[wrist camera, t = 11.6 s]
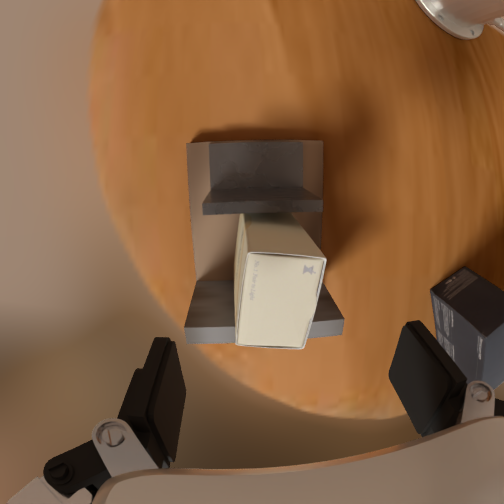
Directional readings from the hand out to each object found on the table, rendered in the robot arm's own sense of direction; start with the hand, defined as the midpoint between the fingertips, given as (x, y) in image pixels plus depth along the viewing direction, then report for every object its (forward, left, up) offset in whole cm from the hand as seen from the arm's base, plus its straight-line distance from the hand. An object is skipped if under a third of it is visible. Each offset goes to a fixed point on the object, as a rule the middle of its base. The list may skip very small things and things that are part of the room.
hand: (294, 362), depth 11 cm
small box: (-27, +12, -19) cm, 35 cm away
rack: (0, -1, -19) cm, 19 cm away
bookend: (0, -6, -17) cm, 18 cm away
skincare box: (0, 0, -18) cm, 18 cm away
